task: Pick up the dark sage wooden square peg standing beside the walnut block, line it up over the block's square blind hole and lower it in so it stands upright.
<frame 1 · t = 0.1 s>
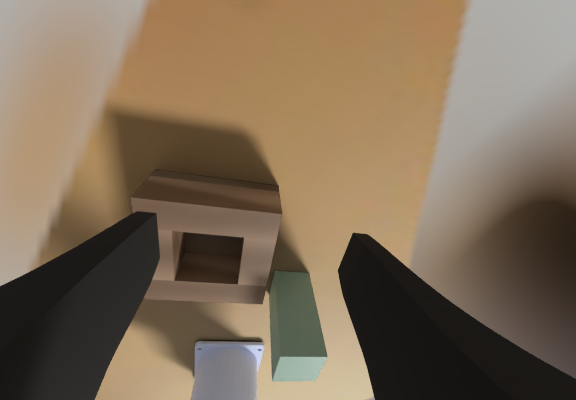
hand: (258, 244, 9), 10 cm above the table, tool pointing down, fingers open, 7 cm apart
square peg: (288, 283, 25), on the table
hole block: (216, 226, 21), on the table
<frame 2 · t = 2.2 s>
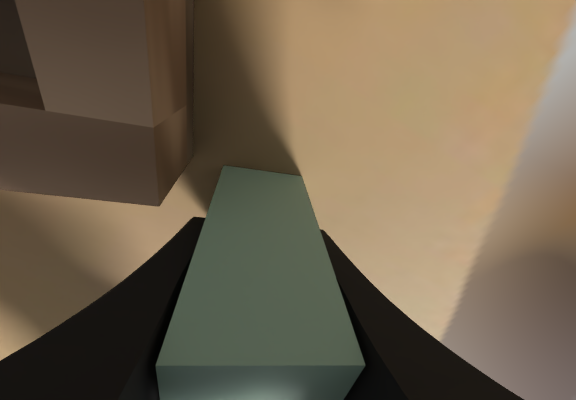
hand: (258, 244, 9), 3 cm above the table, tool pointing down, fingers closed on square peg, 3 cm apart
square peg: (258, 204, 12), on the table, touching gripper
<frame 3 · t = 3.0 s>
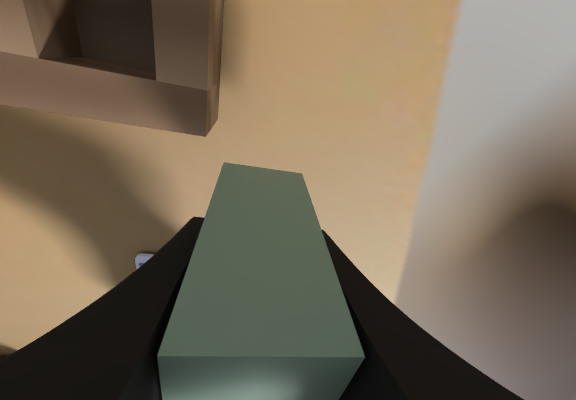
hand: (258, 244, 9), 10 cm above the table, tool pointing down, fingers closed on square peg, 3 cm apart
square peg: (258, 201, 12), point 7 cm above the table, touching gripper
hole block: (134, 17, 13), on the table
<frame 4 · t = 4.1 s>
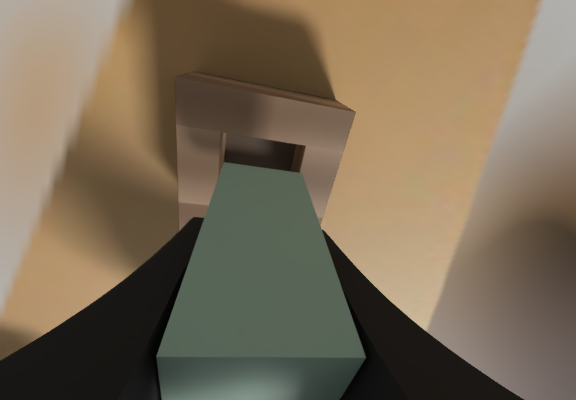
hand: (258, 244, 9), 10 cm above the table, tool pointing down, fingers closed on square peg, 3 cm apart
square peg: (258, 201, 12), point 7 cm above the table, touching gripper
hole block: (259, 153, 18), on the table
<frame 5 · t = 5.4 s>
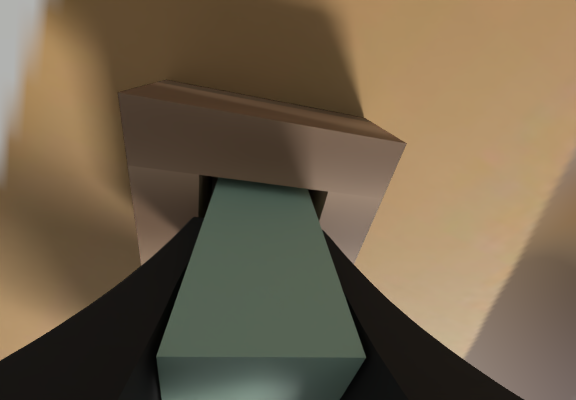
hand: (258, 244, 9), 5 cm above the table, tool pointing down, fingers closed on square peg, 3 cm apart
square peg: (258, 201, 12), point 2 cm above the table, touching gripper
hole block: (258, 188, 13), on the table
when the fingers open (5 cm above the table, at t = 6.2 s): square peg stays where it is, resting on hole block.
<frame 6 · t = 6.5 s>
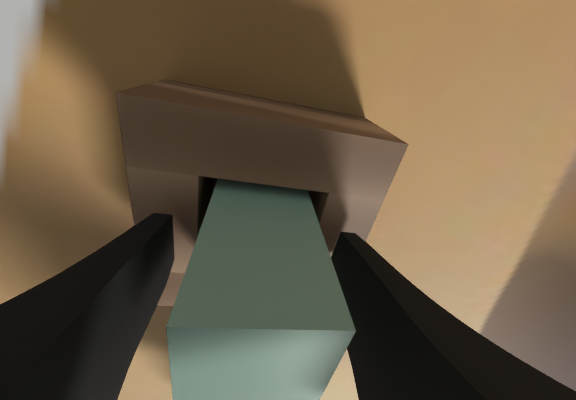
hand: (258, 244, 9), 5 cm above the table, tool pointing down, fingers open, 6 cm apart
square peg: (258, 196, 12), point 1 cm above the table, touching hole block
hole block: (258, 188, 13), on the table
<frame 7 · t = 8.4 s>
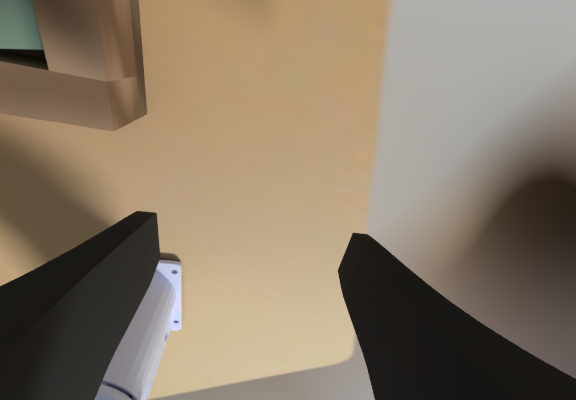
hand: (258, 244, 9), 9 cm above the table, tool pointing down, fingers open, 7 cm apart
hole block: (42, 4, 12), on the table
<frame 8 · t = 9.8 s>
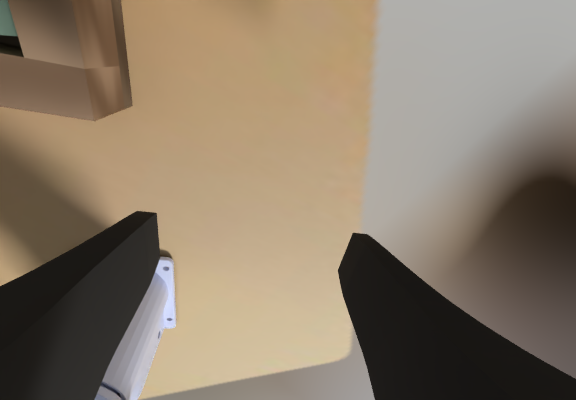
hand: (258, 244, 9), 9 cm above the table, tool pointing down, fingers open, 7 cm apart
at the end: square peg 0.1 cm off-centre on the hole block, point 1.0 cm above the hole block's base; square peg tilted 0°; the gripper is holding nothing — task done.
